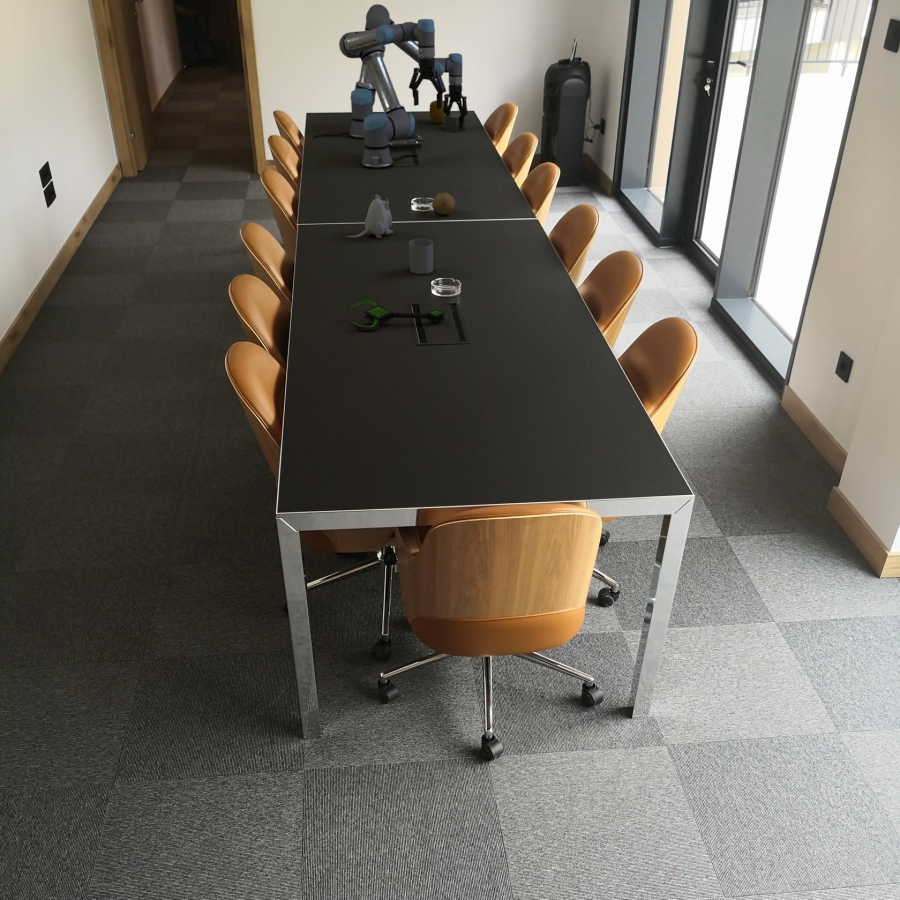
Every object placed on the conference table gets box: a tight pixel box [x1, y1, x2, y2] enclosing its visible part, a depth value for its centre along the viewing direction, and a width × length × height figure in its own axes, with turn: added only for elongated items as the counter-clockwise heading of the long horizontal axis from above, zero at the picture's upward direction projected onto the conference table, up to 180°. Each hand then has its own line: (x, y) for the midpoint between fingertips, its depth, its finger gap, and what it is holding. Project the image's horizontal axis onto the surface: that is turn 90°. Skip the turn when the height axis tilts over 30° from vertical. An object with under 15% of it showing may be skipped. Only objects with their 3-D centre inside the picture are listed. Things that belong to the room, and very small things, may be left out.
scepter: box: [348, 298, 446, 331], centre depth 269 cm, size 6×13×30 cm
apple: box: [429, 99, 446, 125], centre depth 502 cm, size 11×11×13 cm
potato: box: [431, 192, 456, 216], centre depth 360 cm, size 10×14×8 cm
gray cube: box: [444, 112, 466, 133], centre depth 489 cm, size 8×8×8 cm
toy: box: [345, 193, 394, 239], centre depth 333 cm, size 9×24×15 cm, turn 137°
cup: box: [408, 237, 434, 275], centre depth 305 cm, size 8×8×10 cm
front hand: (427, 107), depth 403 cm, fingers open, 13 cm apart
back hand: (455, 127), depth 491 cm, fingers closed on gray cube, 8 cm apart
